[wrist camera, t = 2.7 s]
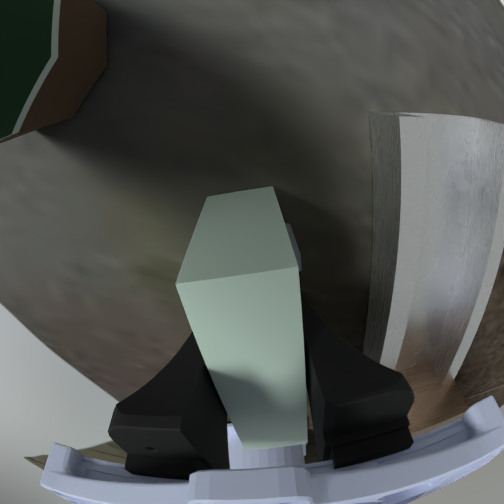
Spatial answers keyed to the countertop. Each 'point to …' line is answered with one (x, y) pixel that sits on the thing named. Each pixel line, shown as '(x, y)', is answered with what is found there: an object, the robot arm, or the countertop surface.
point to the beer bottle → (47, 61)
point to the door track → (432, 250)
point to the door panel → (249, 315)
